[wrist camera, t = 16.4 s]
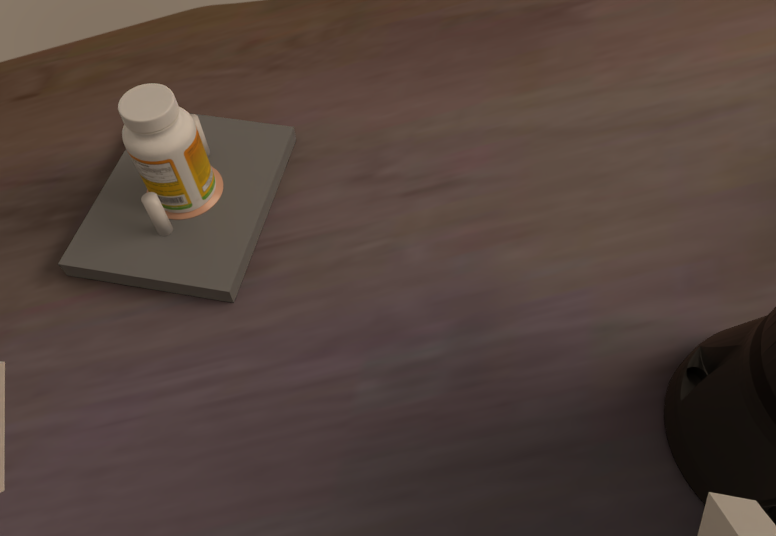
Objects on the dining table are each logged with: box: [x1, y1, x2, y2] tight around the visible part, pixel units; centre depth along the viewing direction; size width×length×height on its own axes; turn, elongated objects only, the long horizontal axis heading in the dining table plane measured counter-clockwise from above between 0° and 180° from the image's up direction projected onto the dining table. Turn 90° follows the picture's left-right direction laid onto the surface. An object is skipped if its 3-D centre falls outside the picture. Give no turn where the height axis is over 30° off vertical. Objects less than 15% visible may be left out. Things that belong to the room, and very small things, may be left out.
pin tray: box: [58, 113, 296, 303], centre depth 52 cm, size 14×18×6 cm
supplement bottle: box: [118, 83, 216, 213], centre depth 48 cm, size 5×5×10 cm
